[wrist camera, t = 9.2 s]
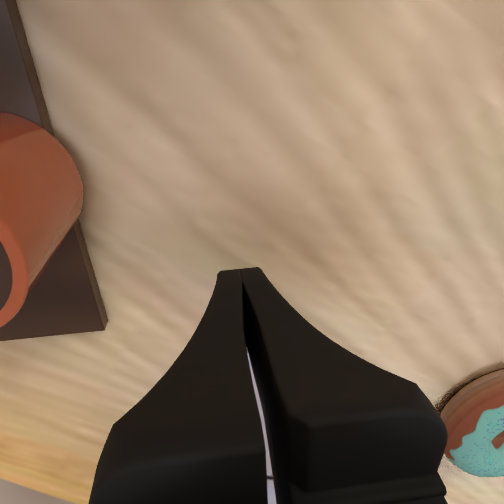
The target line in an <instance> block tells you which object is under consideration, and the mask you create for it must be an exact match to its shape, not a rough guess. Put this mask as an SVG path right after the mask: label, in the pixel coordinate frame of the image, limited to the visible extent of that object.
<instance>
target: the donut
mask: <svg viewBox="0 0 504 504" xmlns="http://www.w3.org/2000/svg"><path fill="white" fill-rule="evenodd" d="M440 417H441V419H442V420H443V422H444V424H445V425H446V429H447V432H448V439H447V445H446V448H445V451H444V454H445V455H446V457H447V458H448V459H449V460H450V461H451V462H452V463H453V464H454V465H456V466H457V467H459V468H460V469H462V470H463V471H464V472H467V473H469V474H471V475H475V476H479V477H501V476H504V369H502V370H498V371H495V372H491V373H489V374H486V375H484V376H481V377H480V378H478V379H476V380H474V381H472V382H470V383H469V384H468V385H466V386H465V387H463V388H462V389H461V390H460V391H459V392H457V393H456V394H455V395H454V396H453V397H452V398H451V399H450V401H449V402H448V403H447V404H446V405H445V407H444V409H443V410H442V412H441V414H440Z"/></svg>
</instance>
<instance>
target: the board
mask: <svg viewBox="0 0 504 504" xmlns="http://www.w3.org/2000/svg"><path fill="white" fill-rule="evenodd" d="M0 111H2V112H7V113H11V114H14V115H17V116H20V117H22V118H25V119H27V120H29V121H31V122H33V123H35V124H36V125H38V126H40V127H41V128H43V129H44V130H46V131H47V132H48V133H50V134H51V135H52V136H53V137H54V134H53V130H52V127H51V123H50V120H49V116H48V113H47V109H46V106H45V102H44V99H43V96H42V92H41V89H40V85H39V82H38V78H37V75H36V71H35V68H34V65H33V61H32V58H31V54H30V51H29V47H28V44H27V40H26V37H25V34H24V30H23V27H22V23H21V20H20V16H19V13H18V9H17V6H16V2H15V0H0ZM54 138H55V137H54ZM107 321H108V320H107V316H106V313H105V309H104V306H103V303H102V299H101V296H100V292H99V289H98V285H97V282H96V278H95V275H94V272H93V268H92V265H91V261H90V258H89V254H88V251H87V247H86V244H85V240H84V237H83V234H82V230H81V227H80V223H79V220H78V219H77V220H76V222H75V224H74V225H73V227H72V228H71V230H70V232H69V233H68V235H67V236H66V238H65V239H64V241H63V243H62V244H61V246H60V247H59V249H58V250H57V252H56V254H55V255H54V257H53V258H52V260H51V261H50V263H49V265H48V266H47V268H46V269H45V271H44V272H43V274H42V276H41V277H40V279H39V280H38V282H37V283H36V285H35V287H34V288H33V290H32V291H31V293H30V294H29V296H28V298H27V299H26V301H25V302H24V304H23V305H22V307H21V309H20V310H19V312H18V313H17V314H16V315H15V316H14V317H13V318H12V319H11V320H10V321H9V322H8V323H6V324H5V325H4V326H2V327H1V328H0V341H6V340H15V339H25V338H35V337H44V336H54V335H64V334H73V333H83V332H93V331H102V330H105V327H106V324H107Z"/></svg>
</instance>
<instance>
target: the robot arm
mask: <svg viewBox="0 0 504 504" xmlns="http://www.w3.org/2000/svg"><path fill="white" fill-rule="evenodd" d="M247 350H248V352H247ZM447 439H448V432H447V429H446V425H445V424H444V422H443V420H442V419H441V417H440V415H439V414H438V412H437V411H436V409H435V408H434V406H433V405H432V403H431V402H430V401H429V399H428V398H427V397H426V396H425V394H424V393H423V392H422V391H421V389H420V388H419V387H418V385H417V384H416V383H413V382H411V381H409V380H406V379H404V378H402V377H399V376H397V375H395V374H392V373H390V372H388V371H385V370H383V369H381V368H379V367H377V366H375V365H373V364H371V363H369V362H367V361H365V360H363V359H361V358H360V357H358V356H356V355H354V354H353V353H351V352H349V351H348V350H346V349H345V348H343V347H341V346H340V345H338V344H337V343H335V342H333V341H332V340H330V339H329V338H328V337H326V336H325V335H324V334H322V333H321V332H320V331H318V330H317V329H316V328H315V327H313V326H312V325H311V324H310V323H309V322H308V321H307V320H305V319H304V318H303V317H302V316H301V315H300V314H299V313H298V312H297V311H296V310H295V309H294V308H293V307H292V306H291V305H290V304H289V303H288V302H287V301H286V300H285V299H284V298H283V297H282V295H281V294H280V293H279V292H278V291H277V290H276V289H275V287H274V286H273V285H272V284H271V282H270V281H269V280H268V278H267V277H266V276H265V274H264V273H263V271H262V270H261V269H260V268H259V267H254V268H244V269H234V270H224V271H220V272H219V273H218V274H217V281H216V285H215V288H214V291H213V294H212V297H211V299H210V302H209V304H208V307H207V309H206V311H205V314H204V315H203V317H202V319H201V321H200V323H199V325H198V327H197V329H196V331H195V333H194V334H193V336H192V338H191V339H190V341H189V342H188V344H187V345H186V347H185V348H184V350H183V351H182V353H181V354H180V355H179V357H178V358H177V359H176V361H175V362H174V364H173V365H172V366H171V367H170V369H169V370H168V371H167V372H166V374H165V375H164V376H163V377H162V378H161V379H160V380H159V381H158V382H157V383H156V385H155V386H154V387H153V388H152V389H151V390H150V391H149V392H148V393H147V394H146V395H145V396H144V397H143V398H142V399H141V400H140V401H139V402H138V403H137V404H136V405H135V406H134V407H133V408H132V409H130V410H129V411H128V412H127V413H126V414H125V415H124V416H123V417H122V418H120V419H119V420H118V421H117V422H116V423H114V424H113V426H112V429H111V431H110V433H109V435H108V438H107V440H106V443H105V445H104V448H103V451H102V453H101V456H100V459H99V462H98V465H97V469H96V473H95V477H94V482H93V486H92V491H91V495H90V500H89V504H447V502H446V500H445V498H444V496H445V495H446V492H447V491H446V487H445V485H444V483H443V481H442V480H441V478H440V476H439V474H438V472H437V471H438V468H439V465H440V462H441V459H442V456H443V454H444V451H445V448H446V445H447Z"/></svg>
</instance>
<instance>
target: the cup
mask: <svg viewBox="0 0 504 504" xmlns="http://www.w3.org/2000/svg"><path fill="white" fill-rule="evenodd" d="M82 205H83V185H82V180H81V177H80V174H79V171H78V169H77V167H76V165H75V163H74V161H73V159H72V158H71V156H70V155H69V153H68V152H67V150H66V149H65V148H64V147H63V146H62V145H61V143H60V142H59V141H57V140H56V139H55V138H54V137H53V136H52V135H51V134H50V133H48V132H47V131H46V130H44V129H43V128H41V127H40V126H38V125H36V124H35V123H33V122H31V121H29V120H27V119H25V118H22V117H20V116H17V115H14V114H11V113H7V112H2V111H0V328H1V327H2V326H4V325H5V324H6V323H8V322H9V321H10V320H11V319H12V318H13V317H14V316H15V315H16V314H17V313H18V312H19V310H20V309H21V307H22V305H23V304H24V302H25V301H26V299H27V298H28V296H29V294H30V293H31V291H32V290H33V288H34V287H35V285H36V283H37V282H38V280H39V279H40V277H41V276H42V274H43V272H44V271H45V269H46V268H47V266H48V265H49V263H50V261H51V260H52V258H53V257H54V255H55V254H56V252H57V250H58V249H59V247H60V246H61V244H62V243H63V241H64V239H65V238H66V236H67V235H68V233H69V232H70V230H71V228H72V227H73V225H74V224H75V222H76V220H77V219H78V217H79V215H80V212H81V209H82Z"/></svg>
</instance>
